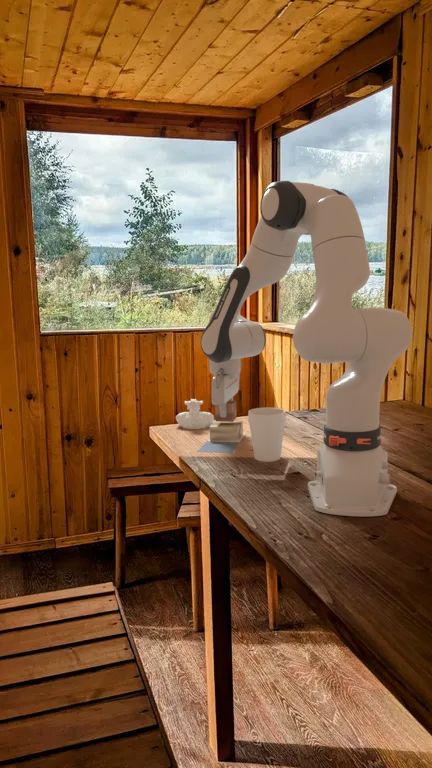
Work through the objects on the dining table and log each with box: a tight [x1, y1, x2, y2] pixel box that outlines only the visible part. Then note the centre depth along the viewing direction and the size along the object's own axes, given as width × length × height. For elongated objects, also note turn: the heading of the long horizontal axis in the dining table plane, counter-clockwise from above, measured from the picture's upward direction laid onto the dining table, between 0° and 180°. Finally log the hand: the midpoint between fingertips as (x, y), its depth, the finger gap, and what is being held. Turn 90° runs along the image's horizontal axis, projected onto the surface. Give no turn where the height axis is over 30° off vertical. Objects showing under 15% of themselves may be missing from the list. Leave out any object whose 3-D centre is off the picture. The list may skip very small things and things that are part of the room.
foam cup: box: [247, 407, 287, 463], centre depth 151 cm, size 10×9×13 cm
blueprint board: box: [196, 433, 247, 454], centre depth 167 cm, size 20×10×1 cm, turn 167°
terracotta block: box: [214, 400, 237, 422], centre depth 171 cm, size 5×5×5 cm
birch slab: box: [209, 420, 244, 442], centre depth 172 cm, size 8×8×4 cm
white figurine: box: [175, 398, 215, 430], centre depth 185 cm, size 12×8×11 cm
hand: (226, 414), depth 172 cm, fingers closed on terracotta block, 5 cm apart
